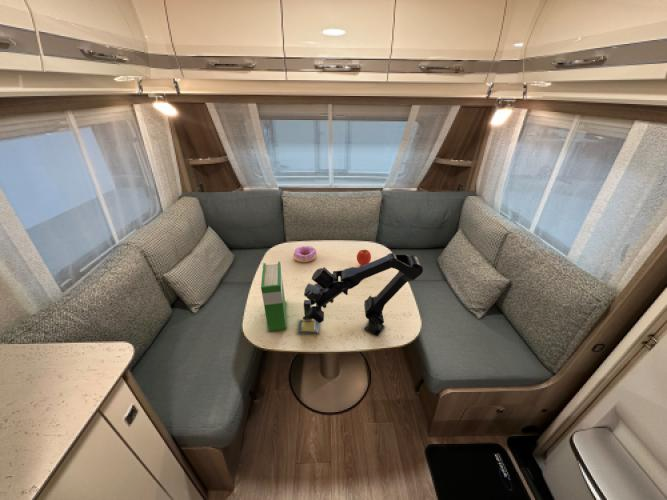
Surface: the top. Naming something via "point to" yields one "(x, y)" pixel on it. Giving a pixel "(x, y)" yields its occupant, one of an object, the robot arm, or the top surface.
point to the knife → (307, 308)
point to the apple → (363, 257)
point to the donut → (305, 250)
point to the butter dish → (308, 327)
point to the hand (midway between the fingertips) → (304, 312)
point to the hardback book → (273, 296)
